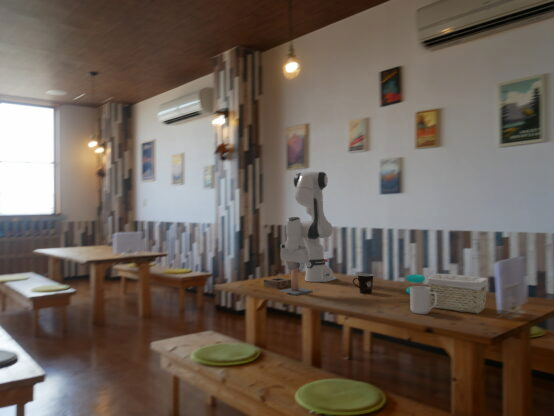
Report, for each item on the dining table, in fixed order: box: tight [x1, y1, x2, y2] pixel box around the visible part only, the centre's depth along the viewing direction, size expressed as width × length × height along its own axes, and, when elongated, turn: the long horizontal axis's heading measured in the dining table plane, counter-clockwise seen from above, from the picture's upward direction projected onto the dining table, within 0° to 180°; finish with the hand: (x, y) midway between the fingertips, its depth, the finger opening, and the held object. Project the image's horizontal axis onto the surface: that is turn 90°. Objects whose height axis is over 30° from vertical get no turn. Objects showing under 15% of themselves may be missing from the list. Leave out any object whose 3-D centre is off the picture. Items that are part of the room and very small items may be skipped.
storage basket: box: [427, 273, 489, 314], centre depth 211 cm, size 24×16×15 cm
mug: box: [409, 285, 437, 315], centre depth 204 cm, size 12×9×11 cm
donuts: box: [405, 273, 426, 295], centre depth 247 cm, size 10×10×10 cm
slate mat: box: [277, 287, 313, 297], centre depth 257 cm, size 14×14×1 cm
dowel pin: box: [290, 268, 299, 291], centre depth 257 cm, size 4×4×12 cm
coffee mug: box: [352, 273, 374, 295], centre depth 252 cm, size 12×9×10 cm
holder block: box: [263, 277, 291, 290], centre depth 271 cm, size 12×12×5 cm
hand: (294, 269), depth 257 cm, fingers open, 8 cm apart
